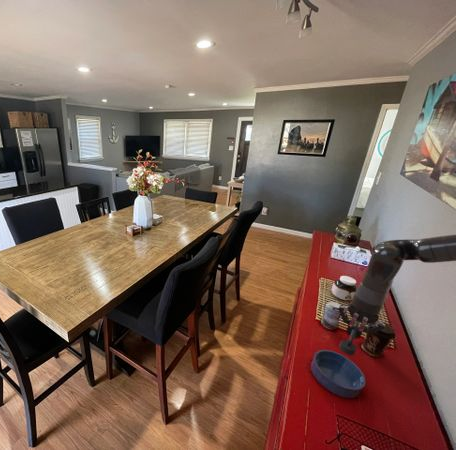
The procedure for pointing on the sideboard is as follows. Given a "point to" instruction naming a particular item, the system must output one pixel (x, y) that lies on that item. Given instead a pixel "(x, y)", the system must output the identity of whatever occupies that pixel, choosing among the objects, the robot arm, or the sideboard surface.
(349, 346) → the door handle
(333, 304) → the beverage can
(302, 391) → the sideboard surface
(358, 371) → the bowl
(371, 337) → the coffee cup
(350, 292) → the spread jar
